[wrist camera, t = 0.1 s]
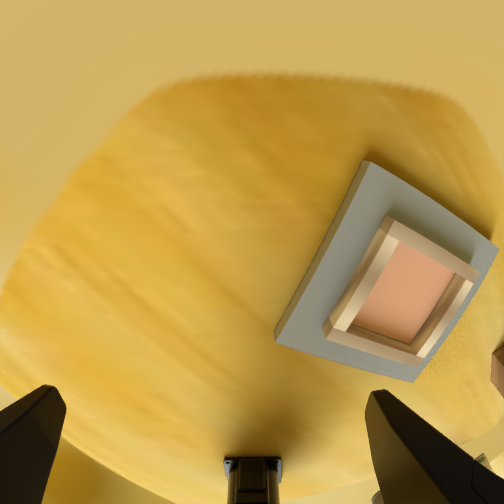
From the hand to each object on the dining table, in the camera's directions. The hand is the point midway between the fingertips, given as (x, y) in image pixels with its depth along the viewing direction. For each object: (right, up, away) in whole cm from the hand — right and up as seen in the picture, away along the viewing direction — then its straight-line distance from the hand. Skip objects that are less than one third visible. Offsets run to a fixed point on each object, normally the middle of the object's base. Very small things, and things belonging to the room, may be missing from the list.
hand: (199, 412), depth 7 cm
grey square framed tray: (+12, +2, +15) cm, 19 cm away
